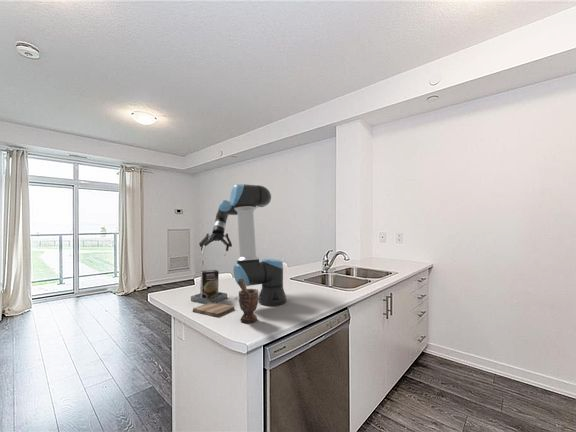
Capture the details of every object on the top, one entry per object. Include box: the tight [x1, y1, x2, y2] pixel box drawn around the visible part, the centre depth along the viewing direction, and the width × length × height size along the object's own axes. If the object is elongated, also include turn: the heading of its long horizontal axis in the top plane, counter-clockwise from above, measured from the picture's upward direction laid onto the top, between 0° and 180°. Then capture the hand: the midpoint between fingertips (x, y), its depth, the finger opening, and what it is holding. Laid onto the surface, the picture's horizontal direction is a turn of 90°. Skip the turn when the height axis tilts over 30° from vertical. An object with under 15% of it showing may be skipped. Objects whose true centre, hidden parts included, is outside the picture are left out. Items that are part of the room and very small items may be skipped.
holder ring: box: [190, 291, 228, 305], centre depth 152 cm, size 14×14×2 cm
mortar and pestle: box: [237, 278, 259, 324], centre depth 119 cm, size 12×9×20 cm
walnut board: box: [192, 302, 235, 318], centre depth 133 cm, size 16×12×2 cm
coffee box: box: [199, 269, 219, 299], centre depth 153 cm, size 9×6×16 cm
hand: (213, 254), depth 165 cm, fingers open, 13 cm apart
